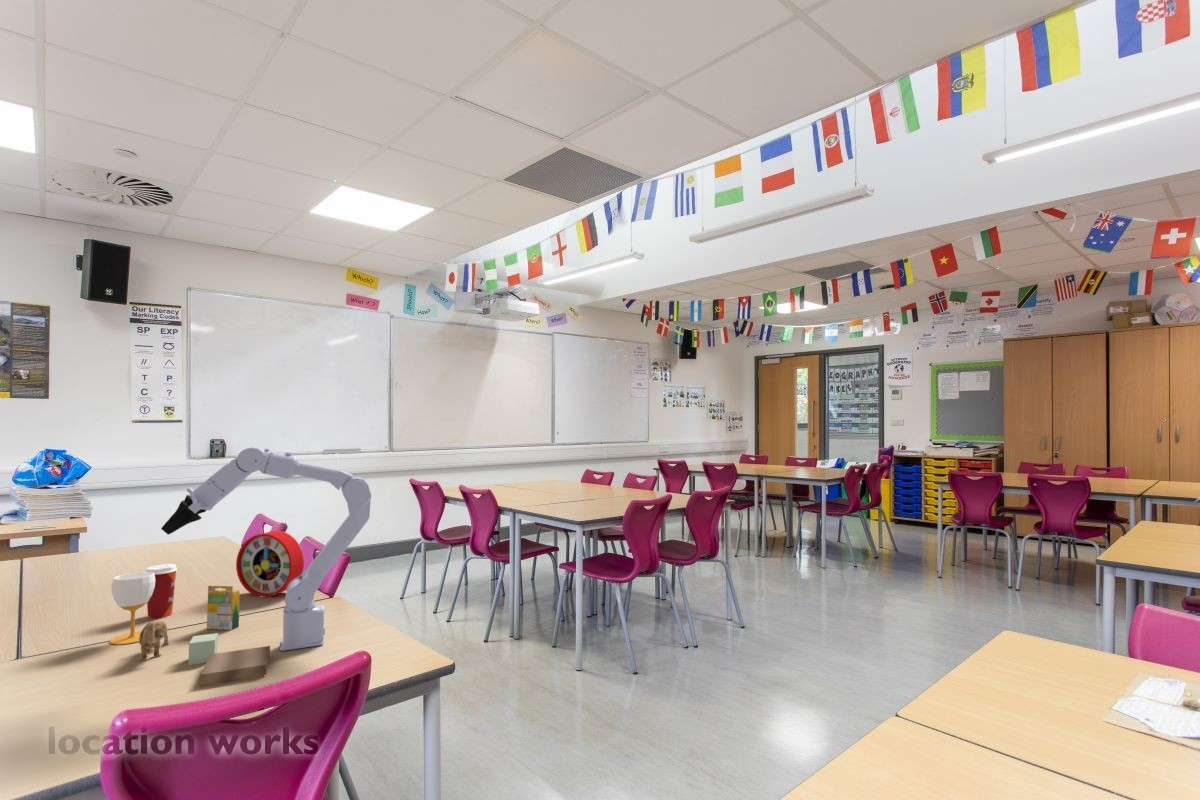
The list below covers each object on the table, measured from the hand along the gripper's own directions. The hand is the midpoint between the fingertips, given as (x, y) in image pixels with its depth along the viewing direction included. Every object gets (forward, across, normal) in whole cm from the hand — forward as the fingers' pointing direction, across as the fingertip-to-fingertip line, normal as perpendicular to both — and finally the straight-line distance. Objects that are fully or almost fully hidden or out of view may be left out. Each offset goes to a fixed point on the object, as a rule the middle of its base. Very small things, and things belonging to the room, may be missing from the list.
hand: (167, 527), depth 137 cm
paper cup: (+28, -41, +20) cm, 53 cm away
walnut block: (+10, +14, +33) cm, 37 cm away
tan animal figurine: (+24, -7, +21) cm, 33 cm away
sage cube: (+16, +3, +28) cm, 32 cm away
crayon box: (+15, -20, +30) cm, 39 cm away
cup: (+30, -22, +17) cm, 41 cm away
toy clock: (+8, -49, +39) cm, 63 cm away
